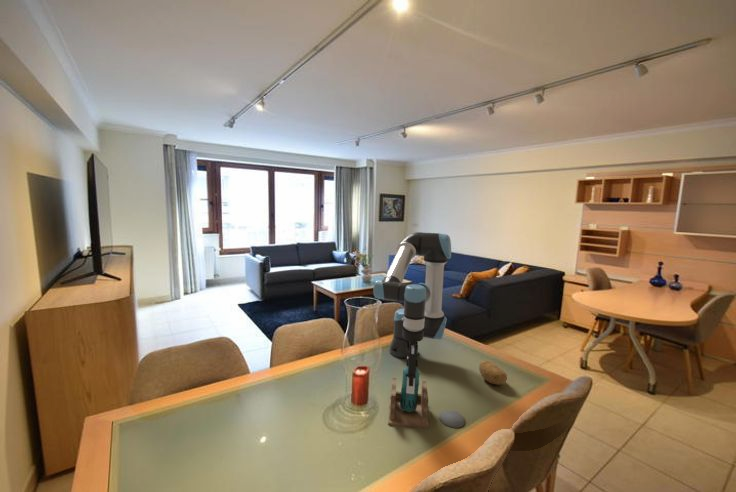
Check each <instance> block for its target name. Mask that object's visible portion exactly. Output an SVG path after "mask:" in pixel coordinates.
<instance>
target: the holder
mask: <svg viewBox="0 0 736 492" xmlns="http://www.w3.org/2000/svg"><path fill="white" fill-rule="evenodd" d="M391 382H392V383H391V393H390V397H389V408H388V409H389V410H388V422H387V423H388V426H399V427H405V428H412V429H413V428H414V429H415V428H416V429H421V430H429V420H428V412H429V411H428V410H429V394H428V393H429V392H428V385H427V384H428V383H427V381H426V380H422V381H421V393H418V400H417V401H418V403H417V408H416V410H415V411H413V412H407V411H404V410H403V409H401V407H400V399H401V391H397V377H392V379H391Z"/></svg>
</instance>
